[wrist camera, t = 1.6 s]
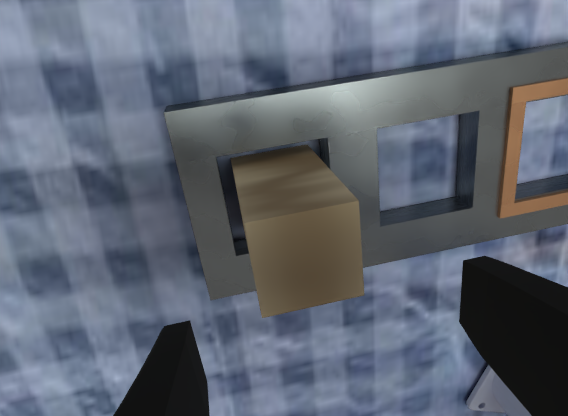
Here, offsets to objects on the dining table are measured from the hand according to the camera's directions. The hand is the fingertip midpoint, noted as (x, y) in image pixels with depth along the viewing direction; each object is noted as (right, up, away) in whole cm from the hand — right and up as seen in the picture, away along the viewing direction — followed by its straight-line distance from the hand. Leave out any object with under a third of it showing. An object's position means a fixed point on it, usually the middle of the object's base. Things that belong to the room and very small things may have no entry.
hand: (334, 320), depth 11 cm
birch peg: (-2, +4, +9) cm, 10 cm away
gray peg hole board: (+5, +5, +10) cm, 12 cm away
